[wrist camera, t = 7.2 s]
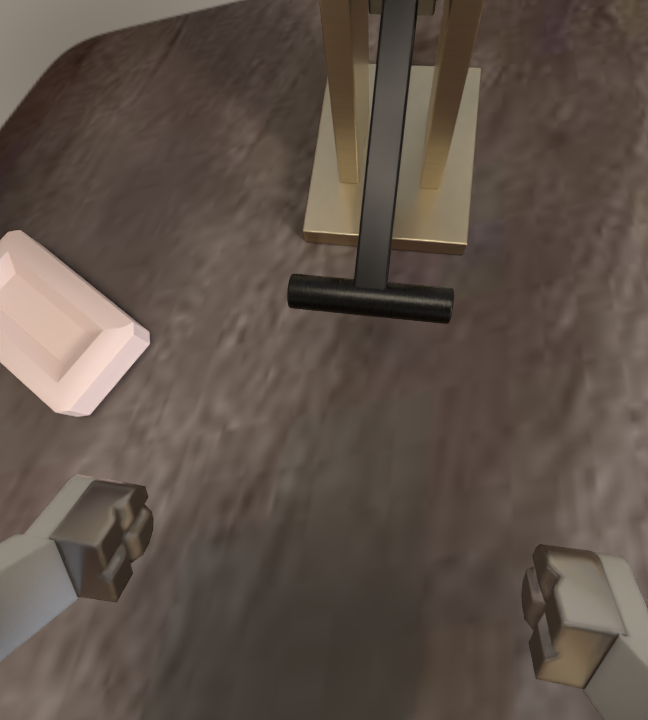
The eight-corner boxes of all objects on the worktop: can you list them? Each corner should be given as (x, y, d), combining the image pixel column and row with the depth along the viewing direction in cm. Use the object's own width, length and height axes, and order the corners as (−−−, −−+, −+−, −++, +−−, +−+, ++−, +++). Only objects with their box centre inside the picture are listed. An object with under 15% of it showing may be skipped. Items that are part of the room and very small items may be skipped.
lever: (444, 322, 18) (453, 325, 15) (296, 307, 18) (281, 308, 16) (495, -75, 16) (513, -140, 14) (329, -75, 17) (318, -137, 14)
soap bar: (87, 423, 24) (57, 417, 22) (-28, 319, 26) (-68, 304, 24) (158, 338, 25) (136, 325, 23) (40, 243, 27) (9, 221, 25)
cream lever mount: (462, 255, 25) (555, 31, 12) (305, 242, 26) (241, 22, 13) (476, 85, 27) (567, -255, 14) (330, 79, 28) (296, -244, 15)
